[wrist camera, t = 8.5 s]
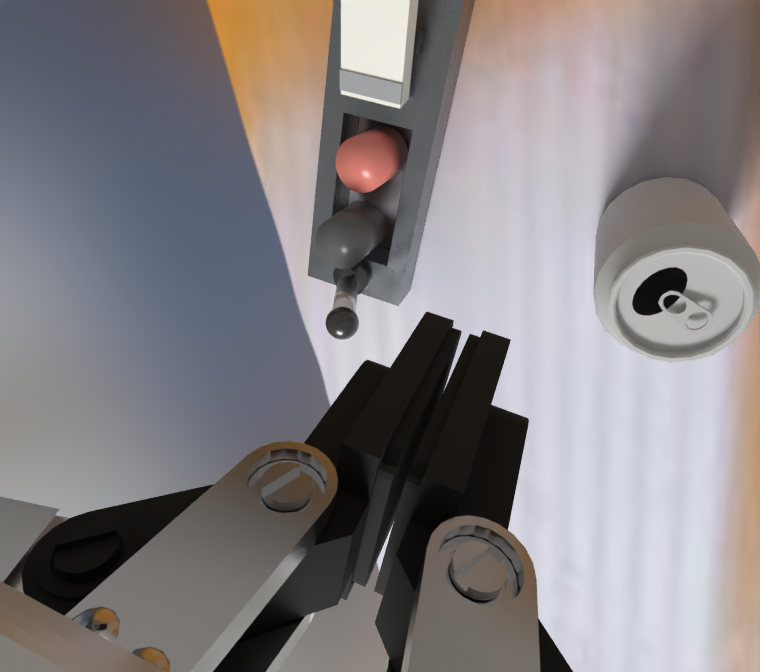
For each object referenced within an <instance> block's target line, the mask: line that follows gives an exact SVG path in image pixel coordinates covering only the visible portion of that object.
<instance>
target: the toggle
mask: <svg viewBox="0 0 760 672" xmlns="http://www.w3.org/2000/svg"><path fill="white" fill-rule="evenodd" d="M357 293H358V282H357V280H356V279H355V278H354V277H352V276H349V275H346V276H343V277H341V278H340V279H339V281H338V283H337V288H336V293H335V299H334V304H333V310H332V311H331V312H330V313H329V314H328V316H327V318H326V328H327V330H328V332H329V333H330V334H331V335H332V336H333V337H335V338H337V339H348V338H350V337H352V336H353V335H354V334H355V333H356V331H357V329H358V326H359V320H358V317H357V315H356V313H355V312H356V303H357Z"/></svg>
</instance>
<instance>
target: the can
mask: <svg viewBox="0 0 760 672" xmlns="http://www.w3.org/2000/svg"><path fill="white" fill-rule="evenodd" d="M594 301H595V309H596V314H597V316H598V318H599V319H600V321H601V323H602V325H603V327H604V329H605V331H607V332H608V333H609V334H610V335H611V336H612V337H613V338H614V339H615V340H616V341H618V342H619V343H620V344H621V345H623V346H625V347H627V348H629V349H630V350H631V351H633V352H635V353H638V354H640V355H642V356H644V357H646V358H648V359H653V360H659V361H664V362H687V361H694V360H697V359H701V358H704V357H707V356H711V355H714V354H715V353H717V352H719V351H720V350H722V349H724V348H725V347H727V346H729V345H730V344H732V343H733V342H734V341H735V340H736V339H737V338H738V337H739V336H740V335H741V334H742V332H743V331H744V330H745V329H746V328H747V327H748V324H749V323H750V322H751V321H752V320H753V319H754V317H755V315H756V313H757V311H758V308H759V306H760V263H759V261H758V259H757V256H756V254H755V252H754V251H753V249H752V248H751V246H750V245H749V243H748V242H747V240H746V239H745V238H744V236H743V235H742V233H741V232H740V230H739V229H738V227H737V226H736V225H735V223H734V222H733V220H732V219H731V217H730V216H729V214H728V213H727V212H726V210H725V209H724V207H723V206H722V204H721V203H720V201H719V200H718V199H717V198H716V197H715V196H714V195H713V194H712V193H711V192H710V191H709V190H708V189H707V188H706V187H704V186H702V185H700V184H697V183H695V182H693V181H690V180H688V179H684V178H672V177H661V178H656V179H651V180H646V181H643V182H641V183H639V184H637V185H634V186H632V187H630V188H628V189H626V190H624V191H623V192H622V193H621V194H620V195H619V196H618V197H617V198H616V199H614V200H613V201H612V202H611V203H610V204H609V205H608V207H607V209H606V210H605V212H604V214H603V215H602V217H601V219H600V221H599V225H598V229H597V233H596V241H595V267H594Z"/></svg>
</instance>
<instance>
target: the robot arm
mask: <svg viewBox="0 0 760 672" xmlns="http://www.w3.org/2000/svg"><path fill="white" fill-rule="evenodd" d="M452 327H453V320H451V319H448V318H445V317H442V316H439V315H436V314H433V313H430V312H426V313H425V314H424V316H423V318H422V319H421V321H420V322H419V324H418V325H417V327H416V328H415V330H414V332H413V333H412V335H411V336H410V338H409V339H408V341H407V343H406V344H405V346H404V347H403V349H402V350H401V352H400V353H399V355H398V357H397V358H396V360H395V361H394V363H393V364H392V366H391V368H389V367H386V366H383V365H381V364H378V363H375V362H373V361H370V360H366V361H365V362H364V363H363V364H362V365H361V366H360V368H359V369H358V370H357V372H356V373H355V374H354V376H353V377H352V378H351V380H350V381H349V383H348V384H347V385H346V387H345V388H344V389H343V391H342V392H341V393H340V395H339V396H338V398H337V399H336V400H335V402H334V403H333V404H332V406H331V407H330V409H329V410H328V411H327V413H326V414H325V415H324V417H323V418H322V419H321V421H320V422H319V424H318V425H317V427H316V428H315V429H314V430H313V432H312V433H311V434H310V436H309V437H308V439H307V440H306V441H305V443H299V442H291V441H284V442H273V443H270V444H268V445H264V446H261V447H259V448H257V449H256V450H254V451H253V452H251V453H250V454H248V455H247V456H246V457H245V458H244V459H243V460H241V461H240V462H239V463H238V464H237V465H236V466H235V467H233V468H232V469H231V470H230V471H229V472H228V473H227V474H225V475H224V476H223V477H222V478H221V479H220V480H219V481H217V482H216V483H215V484H213V485H209V486H205V487H200V488H195V489H190V490H187V491H181V492H177V493H173V494H168V495H164V496H159V497H154V498H149V499H145V500H140V501H136V502H132V503H127V504H122V505H118V506H113V507H108V508H104V509H99V510H95V511H90V512H87V513H84V514H81V515H78V516H75V517H72V518H66V517H62V515H61V512H60V509H56V508H51V507H46V506H42V505H37V504H32V503H27V502H23V501H18V500H13V499H9V498H4V497H0V672H277V670H278V669H279V667H280V666H281V664H282V663H283V662H284V660H285V659H286V657H287V656H288V654H289V653H290V652H291V650H292V649H293V647H294V646H295V644H296V643H297V641H298V640H299V639H300V637H301V636H302V634H303V633H304V631H305V630H306V628H307V627H308V626H309V624H310V622H311V620H312V618H313V616H314V614H315V612H318V611H321V610H323V609H326V608H329V607H332V606H335V605H337V604H338V602H339V600H340V598H343V599H345V600H346V599H347V597H348V595H349V593H350V591H351V588H352V586H353V584H354V582H356V583H358V584H360V585H362V586H364V587H365V586H366V584H367V582H368V579H369V577H370V575H371V573H372V570H373V568H374V565H375V563H376V561H377V559H378V557H379V554H380V552H381V550H382V547H383V545H384V543H385V540H386V538H387V536H388V533H389V531H390V529H391V526H392V524H393V522H394V524H393V527H392V531H391V534H390V538H389V541H388V545H387V548H386V552H385V555H384V558H383V562H382V565H381V569H380V572H379V576H378V580H377V583H376V587H375V590H374V591H375V592H377V593H379V594H381V595H383V598H382V602H381V605H380V608H379V611H378V615H377V618H376V621H375V624H376V627H377V629H378V632H379V634H380V636H381V639H382V641H383V644H384V646H385V649H386V651H387V654H388V657H387V660H386V662H385V668H384V672H573V671H572V669H571V668H570V666H569V665H568V663H567V662H566V660H565V659H564V657H563V656H562V654H561V653H560V651H559V649H558V648H557V646H556V645H555V643H554V642H553V640H552V639H551V637H550V636H549V634H548V632H547V631H546V629H545V628H544V626H543V625H542V623H541V622H540V620H539V619H538V606H537V583H536V575H535V570H534V566H533V562H532V560H531V558H530V556H529V554H528V553H527V551H526V549H525V547H524V546H523V545H522V544H521V543H520V542H519V540H518V539H517V538H516V537H515V536H514V535H513V534H512V533H511V532H509V531H508V526H509V521H510V516H511V511H512V505H513V500H514V495H515V490H516V485H517V480H518V475H519V470H520V464H521V459H522V454H523V449H524V444H525V439H526V434H527V429H528V422H529V420H528V418H526V417H523V416H520V415H517V414H515V413H512V412H509V411H506V410H504V409H501V408H498V407H496V406H493V405H491V403H492V400H493V396H494V393H495V390H496V387H497V383H498V380H499V377H500V374H501V370H502V367H503V364H504V360H505V357H506V354H507V351H508V347H509V344H510V341H511V340H510V339H507V338H504V337H501V336H498V335H495V334H492V333H489V332H486V331H483V332H482V335H481V337H478V336H475V335H472V334H470V335H469V337H468V339H467V341H466V344H465V346H464V348H463V350H462V353H461V355H460V357H459V359H458V362H457V364H456V366H455V368H454V370H453V373H452V375H451V377H450V379H449V382H448V384H447V386H446V388H445V385H446V382H447V379H448V376H449V372H450V369H451V366H452V362H453V359H454V356H455V353H456V349H457V346H458V343H459V339H460V336H461V331H460V330H457V329H454V328H452ZM444 389H445V391H444ZM443 392H444V393H443Z"/></svg>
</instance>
